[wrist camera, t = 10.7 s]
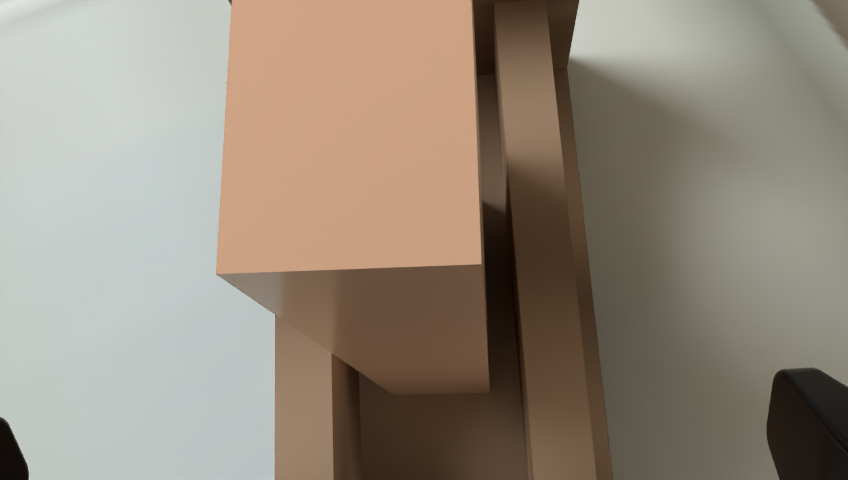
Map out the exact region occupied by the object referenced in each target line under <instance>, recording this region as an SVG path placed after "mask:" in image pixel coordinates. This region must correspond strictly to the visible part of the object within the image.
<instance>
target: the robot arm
mask: <svg viewBox="0 0 848 480" xmlns="http://www.w3.org/2000/svg"><path fill="white" fill-rule="evenodd" d="M767 440H768V445H769V448H770V452H771V455H772V458H773V461H774V464H775V467H776V470H777V473H778V476H779V479H780V480H848V387H847V386H845V385H844V384H842V383H840V382H839V381H837V380H835V379H834V378H832V377H831V376H829V375H827V374H826V373H824V372H822V371H820V370H818V369H816V368H796V369H782V370H780V371H779V372H777V373H776V375H775V377H774V379H773V385H772V392H771V399H770V406H769V413H768V420H767ZM0 480H29V472H28V466H27V463H26V461H25V459H24V457H23V454H22V452H21V450H20V448H19V446H18V443H17V441H16V439H15V437H14V435H13V432H12V430H11V428H10V426H9V424H8V422H7V421H6V420H4V419H3V418H2V417H0Z"/></svg>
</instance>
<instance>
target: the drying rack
mask: <svg viewBox="0 0 848 480" xmlns="http://www.w3.org/2000/svg"><path fill="white" fill-rule="evenodd" d="M229 2H230V4H231V6H232V0H229ZM578 4H579V0H473V9H474V30H475V51H476V73H477V94H478V116H479V137H480V159H481V180H482V202H483V227H484V253H485V278H486V303H487V329H488V354H489V380H490V393H463V394H423V395H393V394H391V393H390V392H388V391H387V390H385V389H384V388H382V387H381V386H379V385H378V384H376V383H375V382H373V381H372V380H371V379H369V378H368V377H366V376H365V375H363V374H362V373H360V372H359V371H357V370H356V369H354V368H353V367H351V366H350V365H349V364H347V363H346V362H344V361H343V360H341V359H340V358H338V357H337V356H335V355H334V354H332V353H331V352H329V351H328V350H327V349H325V348H324V347H322V346H321V345H319V344H318V343H316V342H315V341H313V340H312V339H310V338H309V337H307V336H306V335H305V334H303V333H302V332H300V331H299V330H297V329H296V328H294V327H293V326H291V325H290V324H288V323H287V322H285V321H284V320H283V319H281V318H280V317H278V316H277V315H275V480H613V476H612V467H611V458H610V449H609V440H608V431H607V423H606V414H605V405H604V396H603V387H602V378H601V369H600V360H599V351H598V342H597V333H596V324H595V315H594V306H593V297H592V289H591V280H590V271H589V262H588V253H587V244H586V235H585V226H584V217H583V208H582V199H581V190H580V181H579V172H578V164H577V155H576V146H575V137H574V128H573V119H572V110H571V101H570V92H569V83H568V74H567V64H568V59H569V53H570V48H571V42H572V37H573V31H574V26H575V20H576V15H577V9H578Z"/></svg>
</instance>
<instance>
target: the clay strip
mask: <svg viewBox="0 0 848 480" xmlns="http://www.w3.org/2000/svg"><path fill="white" fill-rule="evenodd" d="M216 274H217V275H218V276H219V277H221V278H222V279H224V280H225V281H227V282H228V283H230V284H231V285H233V286H234V287H236V288H237V289H239V290H240V291H241V292H243V293H244V294H246V295H247V296H249V297H250V298H252V299H253V300H255V301H256V302H258V303H259V304H261V305H262V306H263V307H265V308H266V309H268V310H269V311H271V312H272V313H274V314H275V315H277V316H278V317H280V318H281V319H283V320H284V321H285V322H287V323H288V324H290V325H291V326H293V327H294V328H296V329H297V330H299V331H300V332H302V333H303V334H305V335H306V336H307V337H309V338H310V339H312V340H313V341H315V342H316V343H318V344H319V345H321V346H322V347H324V348H325V349H327V350H328V351H329V352H331V353H332V354H334V355H335V356H337V357H338V358H340V359H341V360H343V361H344V362H346V363H347V364H349V365H350V366H351V367H353V368H354V369H356V370H357V371H359V372H360V373H362V374H363V375H365V376H366V377H368V378H369V379H371V380H372V381H373V382H375V383H376V384H378V385H379V386H381V387H382V388H384V389H385V390H387V391H388V392H390V393H391V394H393V395H423V394H463V393H490V380H489V354H488V329H487V303H486V278H485V253H484V227H483V202H482V180H481V159H480V137H479V116H478V94H477V73H476V51H475V30H474V9H473V0H232V9H231V26H230V43H229V60H228V77H227V94H226V111H225V129H224V146H223V163H222V180H221V197H220V214H219V231H218V248H217V266H216Z"/></svg>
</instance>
